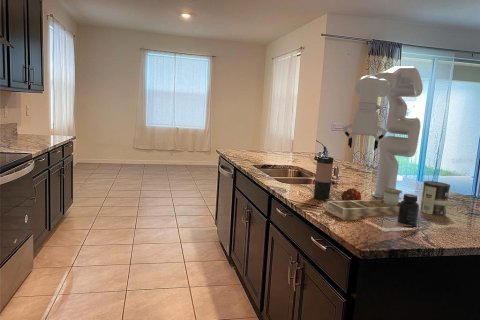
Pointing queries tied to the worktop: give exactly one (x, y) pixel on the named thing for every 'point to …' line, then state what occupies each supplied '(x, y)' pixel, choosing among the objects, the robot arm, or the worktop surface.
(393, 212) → the rack
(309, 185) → the worktop surface
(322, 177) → the travel mug
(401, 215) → the supplement bottle
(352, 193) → the dragon fruit
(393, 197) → the canister
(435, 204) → the coffee can
